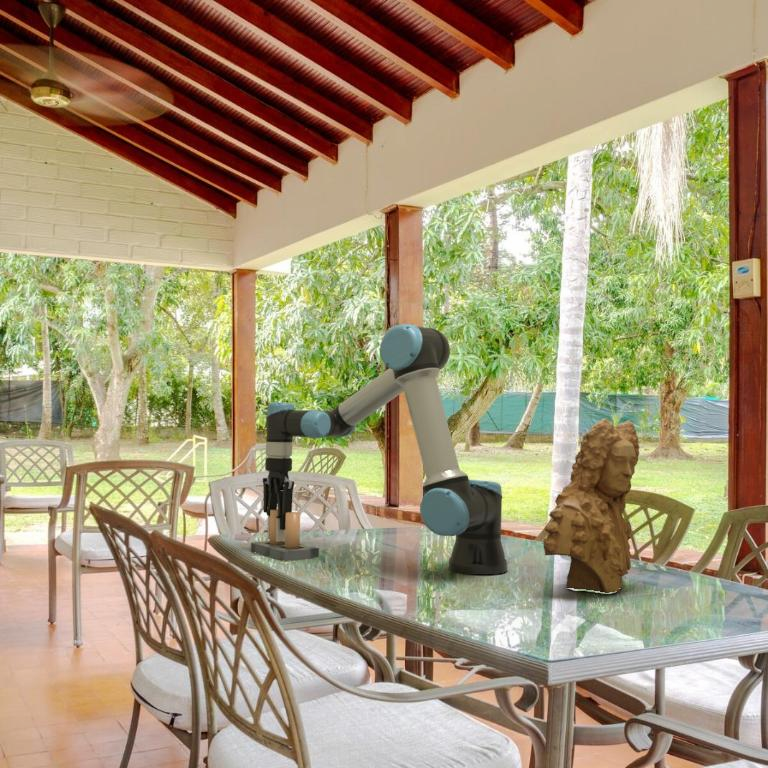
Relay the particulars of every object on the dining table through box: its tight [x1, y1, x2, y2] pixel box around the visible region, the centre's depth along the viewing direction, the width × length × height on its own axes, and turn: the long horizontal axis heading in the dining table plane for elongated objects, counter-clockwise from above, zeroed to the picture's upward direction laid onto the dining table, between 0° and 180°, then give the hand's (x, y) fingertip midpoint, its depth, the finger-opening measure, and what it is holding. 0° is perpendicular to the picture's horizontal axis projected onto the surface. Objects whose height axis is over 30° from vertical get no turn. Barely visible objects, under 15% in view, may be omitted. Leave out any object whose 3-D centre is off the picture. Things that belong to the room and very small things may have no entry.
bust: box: [543, 417, 640, 593], centre depth 203 cm, size 34×18×40 cm, turn 149°
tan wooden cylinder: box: [285, 511, 301, 550], centre depth 238 cm, size 4×4×12 cm
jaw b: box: [268, 508, 284, 546], centre depth 244 cm, size 4×4×12 cm
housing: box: [250, 540, 320, 562], centre depth 241 cm, size 18×11×2 cm, turn 38°
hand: (276, 539), depth 244 cm, fingers closed on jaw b, 4 cm apart
